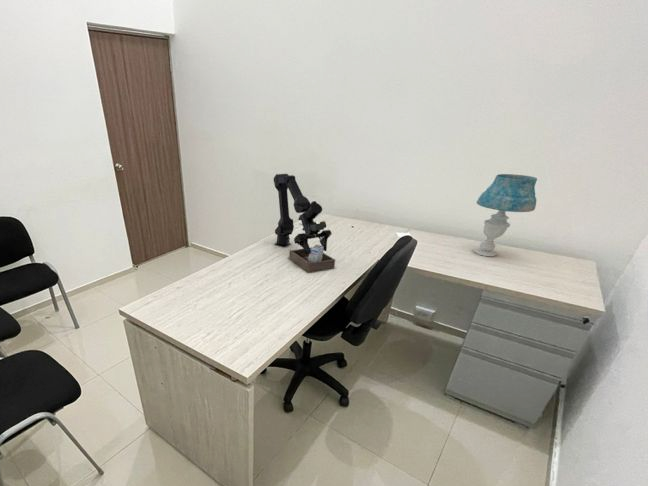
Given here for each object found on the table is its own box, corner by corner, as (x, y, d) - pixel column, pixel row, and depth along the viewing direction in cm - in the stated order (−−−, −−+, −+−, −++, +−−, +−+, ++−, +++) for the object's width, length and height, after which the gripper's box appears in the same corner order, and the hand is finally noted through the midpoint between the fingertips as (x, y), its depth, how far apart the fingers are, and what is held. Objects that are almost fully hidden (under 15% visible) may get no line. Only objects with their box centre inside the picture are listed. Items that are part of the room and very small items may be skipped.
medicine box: (313, 260, 169) (315, 244, 165) (321, 262, 167) (324, 246, 162) (307, 265, 164) (309, 249, 159) (315, 267, 161) (318, 251, 157)
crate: (288, 258, 174) (289, 250, 171) (312, 254, 178) (313, 246, 176) (308, 272, 158) (309, 264, 156) (333, 268, 163) (335, 259, 161)
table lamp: (463, 258, 173) (494, 179, 153) (455, 243, 192) (481, 171, 173) (518, 264, 166) (557, 182, 146) (504, 248, 185) (537, 174, 165)
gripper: (299, 217, 153) (309, 248, 150) (332, 213, 159) (343, 242, 156) (289, 228, 164) (298, 257, 161) (320, 224, 170) (330, 252, 166)
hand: (317, 252), depth 161 cm, fingers closed on medicine box, 9 cm apart
